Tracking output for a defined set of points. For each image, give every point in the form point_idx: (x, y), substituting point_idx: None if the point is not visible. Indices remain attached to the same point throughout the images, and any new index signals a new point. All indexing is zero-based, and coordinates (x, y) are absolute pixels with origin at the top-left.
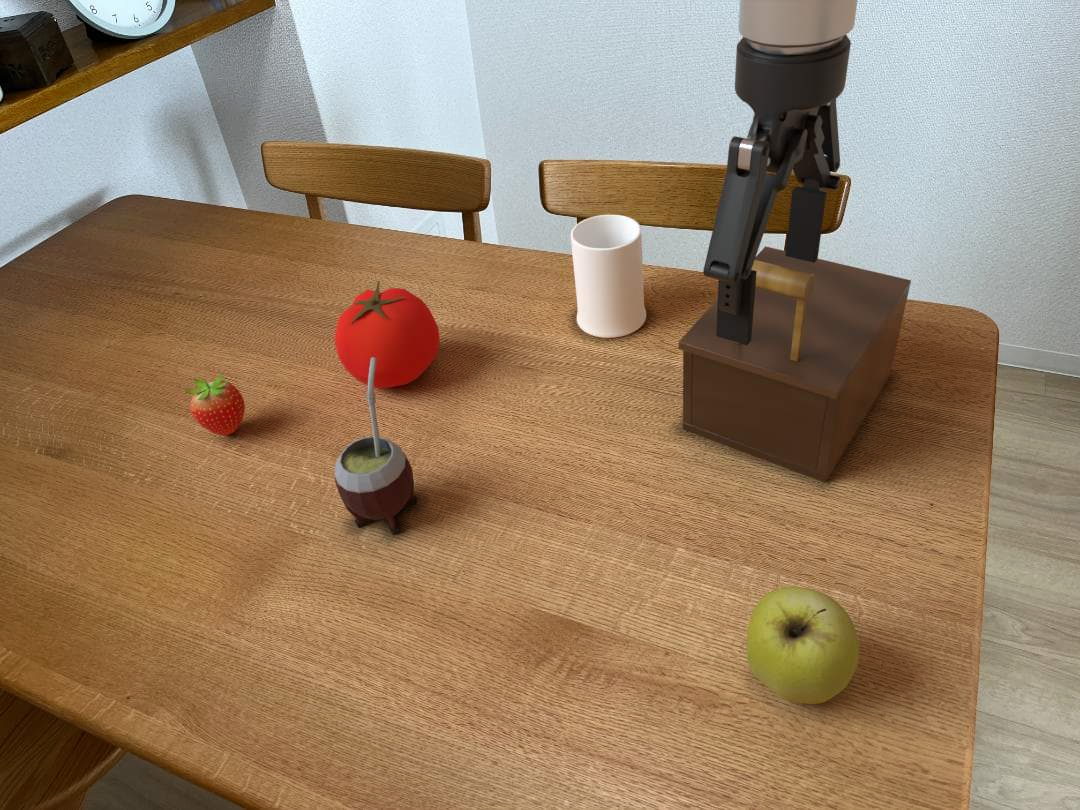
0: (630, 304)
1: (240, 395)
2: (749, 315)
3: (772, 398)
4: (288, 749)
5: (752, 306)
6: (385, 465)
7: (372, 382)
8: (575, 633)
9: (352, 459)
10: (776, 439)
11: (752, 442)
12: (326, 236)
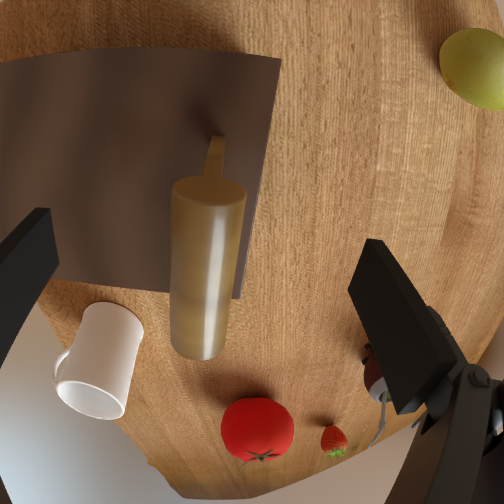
0: (111, 329)
1: (327, 442)
2: (411, 283)
3: None
4: (499, 300)
5: (407, 292)
6: None
7: (379, 434)
8: (454, 213)
9: None
10: None
11: None
12: (155, 459)
